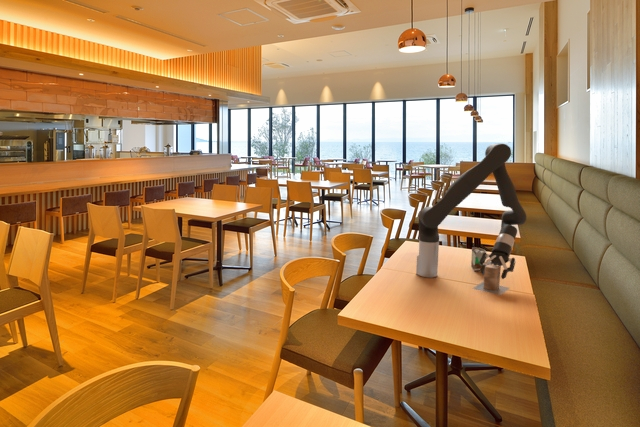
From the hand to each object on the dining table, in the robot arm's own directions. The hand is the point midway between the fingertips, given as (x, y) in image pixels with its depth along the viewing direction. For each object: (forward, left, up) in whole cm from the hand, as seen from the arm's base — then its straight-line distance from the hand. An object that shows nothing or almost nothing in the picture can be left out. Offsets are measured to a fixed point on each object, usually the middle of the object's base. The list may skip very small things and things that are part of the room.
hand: (492, 275), depth 180 cm
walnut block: (0, 0, -6) cm, 6 cm away
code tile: (0, 0, -6) cm, 6 cm away
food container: (-15, +24, -6) cm, 29 cm away
